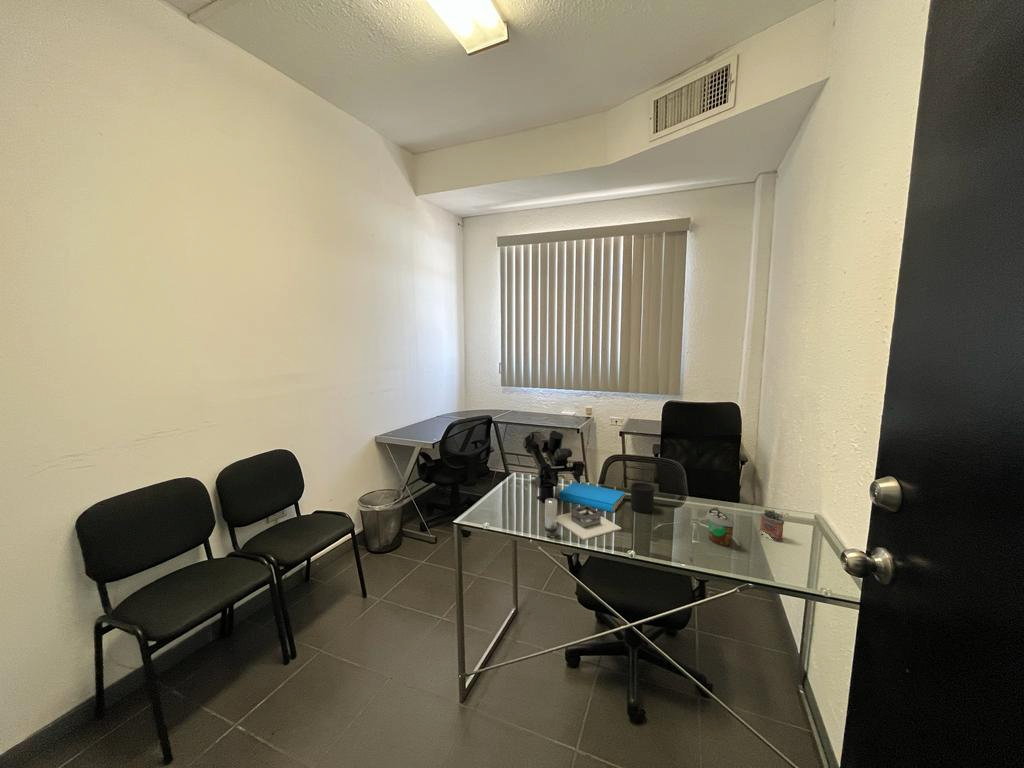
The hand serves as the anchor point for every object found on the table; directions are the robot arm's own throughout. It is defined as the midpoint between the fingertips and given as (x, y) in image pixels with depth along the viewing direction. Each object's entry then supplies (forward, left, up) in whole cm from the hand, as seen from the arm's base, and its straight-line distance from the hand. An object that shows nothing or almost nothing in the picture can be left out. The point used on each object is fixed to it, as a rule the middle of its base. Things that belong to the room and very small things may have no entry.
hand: (568, 483), depth 154 cm
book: (-15, +24, -17) cm, 33 cm away
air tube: (+4, -11, -16) cm, 20 cm away
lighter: (+43, +59, -16) cm, 75 cm away
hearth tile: (+3, +6, -16) cm, 18 cm away
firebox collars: (+3, +6, -16) cm, 18 cm away
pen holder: (+3, +36, -16) cm, 40 cm away
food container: (+35, +39, -16) cm, 55 cm away
